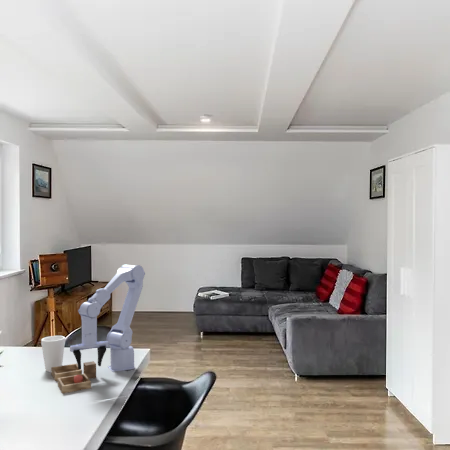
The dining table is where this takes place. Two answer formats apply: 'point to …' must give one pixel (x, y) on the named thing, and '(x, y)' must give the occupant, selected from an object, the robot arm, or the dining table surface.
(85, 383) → the box with ball
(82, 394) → the dining table surface
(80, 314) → the robot arm
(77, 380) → the red ball
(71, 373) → the box empty
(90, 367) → the walnut block
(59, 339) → the foam cup
